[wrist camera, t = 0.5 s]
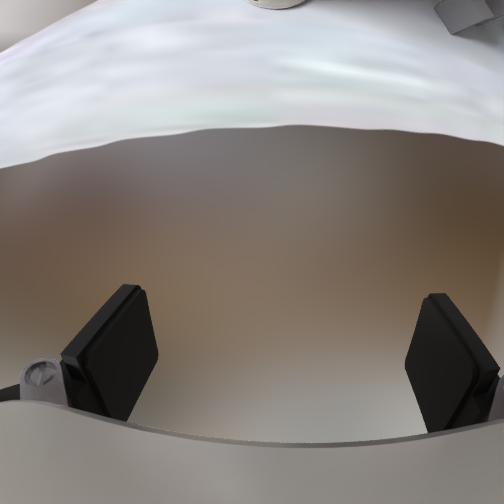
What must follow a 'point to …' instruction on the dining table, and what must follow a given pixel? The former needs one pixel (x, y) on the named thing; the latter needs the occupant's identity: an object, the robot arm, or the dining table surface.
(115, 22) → the dining table surface
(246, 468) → the robot arm
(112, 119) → the dining table surface
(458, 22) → the tile
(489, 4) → the tile
